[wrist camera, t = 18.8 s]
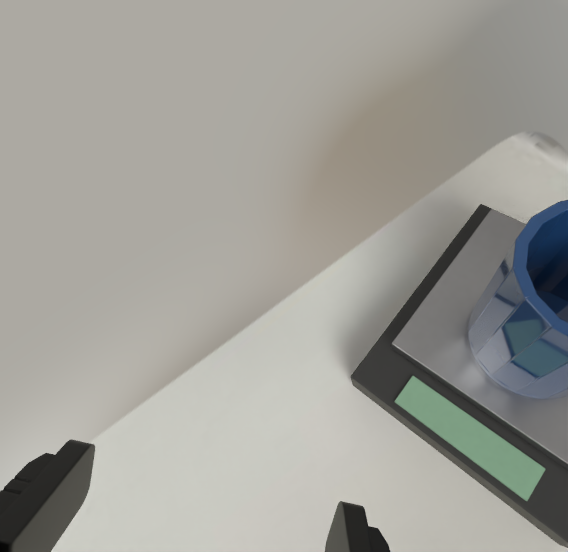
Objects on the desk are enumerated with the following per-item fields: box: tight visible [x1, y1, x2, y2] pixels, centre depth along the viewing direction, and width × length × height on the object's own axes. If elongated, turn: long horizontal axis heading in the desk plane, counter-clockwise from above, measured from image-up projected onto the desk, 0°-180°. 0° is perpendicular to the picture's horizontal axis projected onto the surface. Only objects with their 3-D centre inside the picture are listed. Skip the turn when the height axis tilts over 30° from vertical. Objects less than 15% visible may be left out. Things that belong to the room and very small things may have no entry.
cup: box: [468, 200, 568, 400], centre depth 19 cm, size 7×7×9 cm
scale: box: [351, 204, 568, 548], centre depth 25 cm, size 14×16×3 cm
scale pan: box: [391, 209, 568, 469], centre depth 23 cm, size 12×12×1 cm
